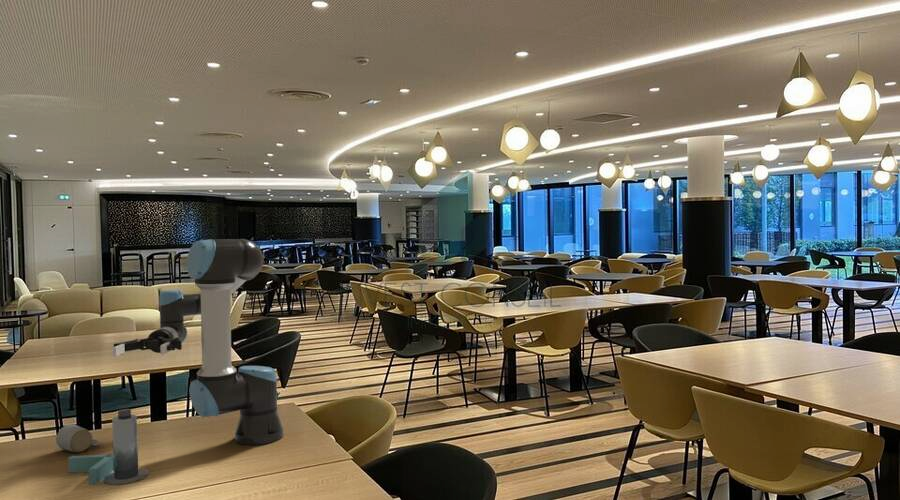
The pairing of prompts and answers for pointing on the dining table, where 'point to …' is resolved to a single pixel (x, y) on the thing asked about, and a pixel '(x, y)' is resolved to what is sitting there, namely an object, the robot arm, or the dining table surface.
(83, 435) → the ceramic mug
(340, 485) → the dining table surface
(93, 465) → the bent rail
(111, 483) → the coaster
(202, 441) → the dining table surface
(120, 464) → the bottle
